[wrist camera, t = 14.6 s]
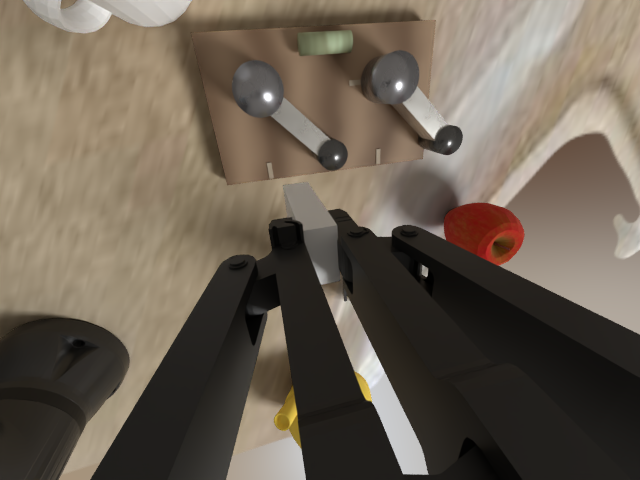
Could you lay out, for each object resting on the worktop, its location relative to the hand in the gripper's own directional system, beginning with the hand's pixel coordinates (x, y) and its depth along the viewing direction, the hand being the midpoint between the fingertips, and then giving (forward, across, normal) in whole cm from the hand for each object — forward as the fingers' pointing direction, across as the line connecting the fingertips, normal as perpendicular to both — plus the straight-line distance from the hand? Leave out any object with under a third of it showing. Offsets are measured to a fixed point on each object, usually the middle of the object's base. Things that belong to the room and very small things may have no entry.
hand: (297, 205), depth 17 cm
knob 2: (+16, +15, +4) cm, 22 cm away
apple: (+18, +25, -12) cm, 33 cm away
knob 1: (+16, +2, +4) cm, 16 cm away
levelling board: (+18, +6, +5) cm, 20 cm away
